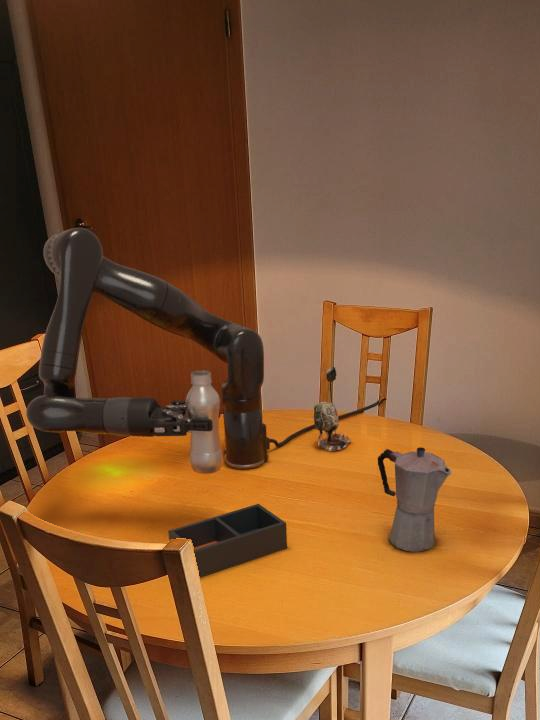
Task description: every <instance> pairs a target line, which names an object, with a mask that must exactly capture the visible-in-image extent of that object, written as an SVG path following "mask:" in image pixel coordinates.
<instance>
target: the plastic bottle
mask: <svg viewBox="0 0 540 720" xmlns="http://www.w3.org/2000/svg"><path fill="white" fill-rule="evenodd" d="M212 383H213V380H212V374H211V371H209V370H195V371H192V372H191V373H190V384H191V385H192V386H191V387H190V389H189V391H188V393H187V395H186V397H185V401H186V407H187V412H188V416H189V418H191V419H211V420H212V423H213V429H212V431H193V430H192V432H190V450H189V458H188V461H189V465H190V468H191V469H192V470H193V472H195V473H197V474H201V475H207V474H209V475H211V474H214V473H217V472H219V471H220V470H221V469H222V467H223V464H224V453H223V449H222V447H221V440H220V429H219V427H220V421H219V420H220V418H219V410H220V411H221V398H220V395H219V393H218V392H217V390H216V389H215V388H214V387H213V385H211V384H212Z"/></svg>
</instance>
